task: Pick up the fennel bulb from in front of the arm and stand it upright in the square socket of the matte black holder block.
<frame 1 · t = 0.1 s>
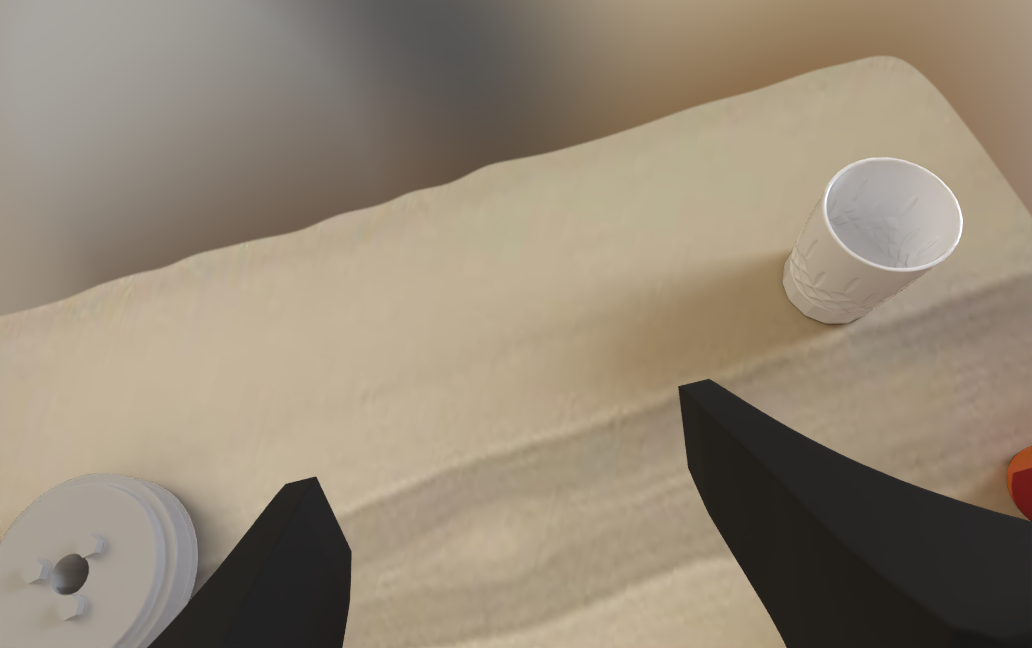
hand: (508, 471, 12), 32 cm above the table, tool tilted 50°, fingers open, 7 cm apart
lid: (117, 574, 44), on the table
white cup: (827, 284, 47), on the table
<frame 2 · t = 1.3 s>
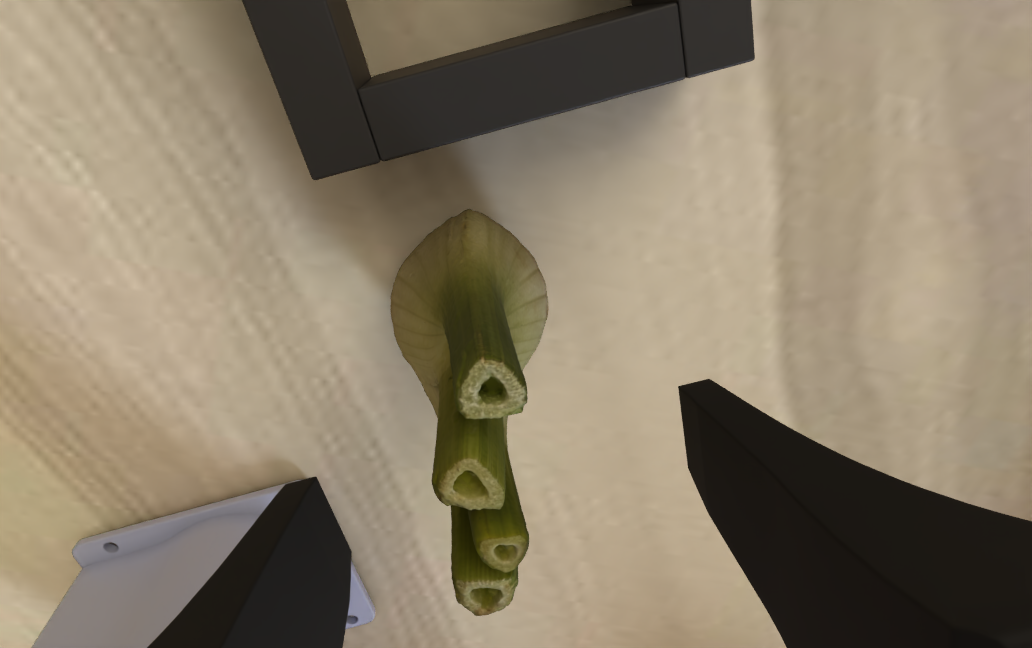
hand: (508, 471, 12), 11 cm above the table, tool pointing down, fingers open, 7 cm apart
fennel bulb: (467, 277, 22), on the table
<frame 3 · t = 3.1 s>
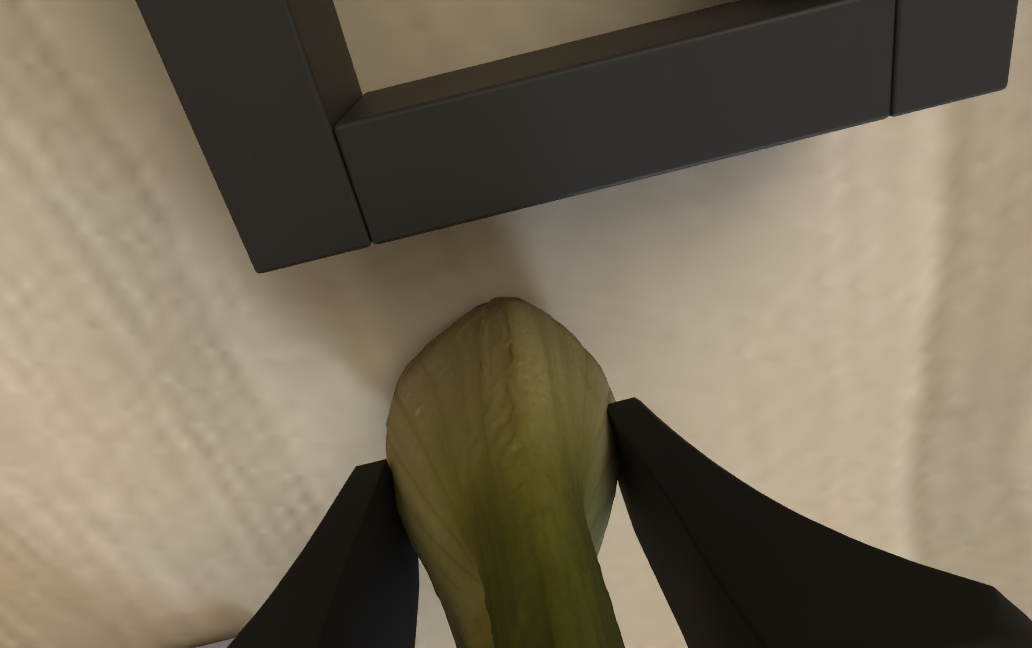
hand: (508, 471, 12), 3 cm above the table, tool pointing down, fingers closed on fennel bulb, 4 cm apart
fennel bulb: (496, 376, 16), on the table, touching gripper
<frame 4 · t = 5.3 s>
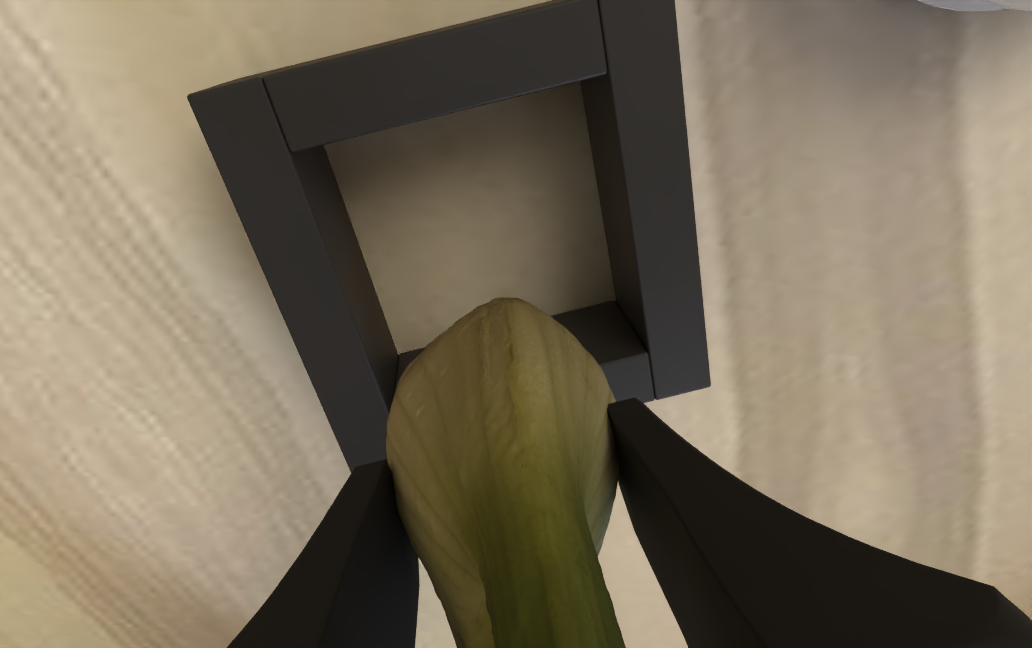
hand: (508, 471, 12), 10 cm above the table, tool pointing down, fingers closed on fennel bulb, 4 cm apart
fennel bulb: (496, 376, 16), point 7 cm above the table, touching gripper
holder: (479, 220, 21), on the table
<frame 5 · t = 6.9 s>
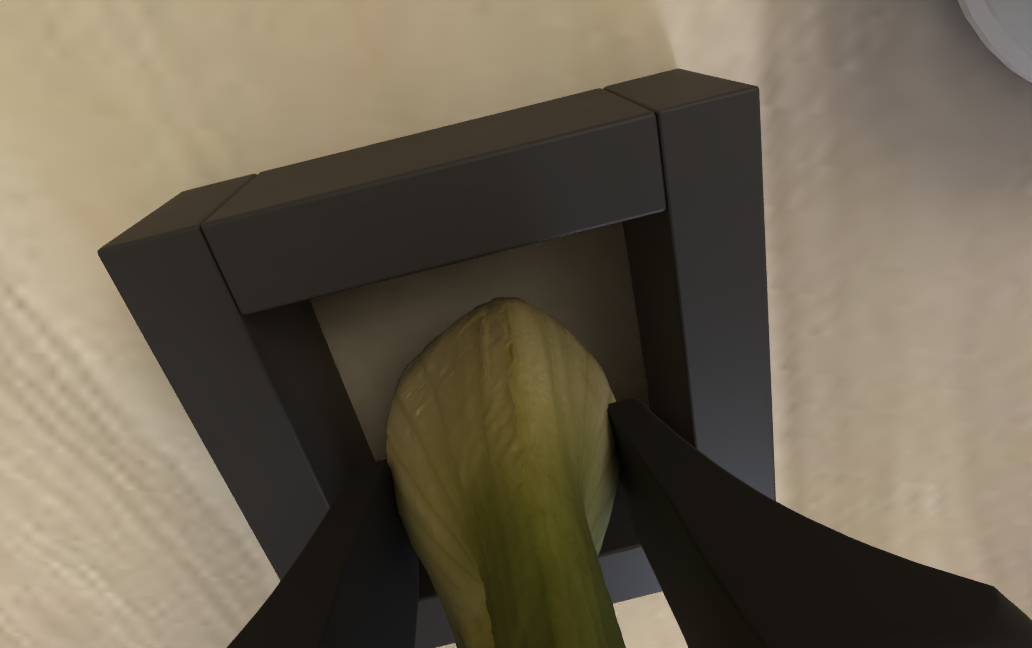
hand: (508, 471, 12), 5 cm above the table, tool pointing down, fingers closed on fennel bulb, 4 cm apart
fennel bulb: (496, 376, 16), point 1 cm above the table, touching gripper
holder: (490, 348, 17), on the table
when the fingers open (4 cm above the table, at t = 8.5 s): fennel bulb stays where it is, resting in holder.
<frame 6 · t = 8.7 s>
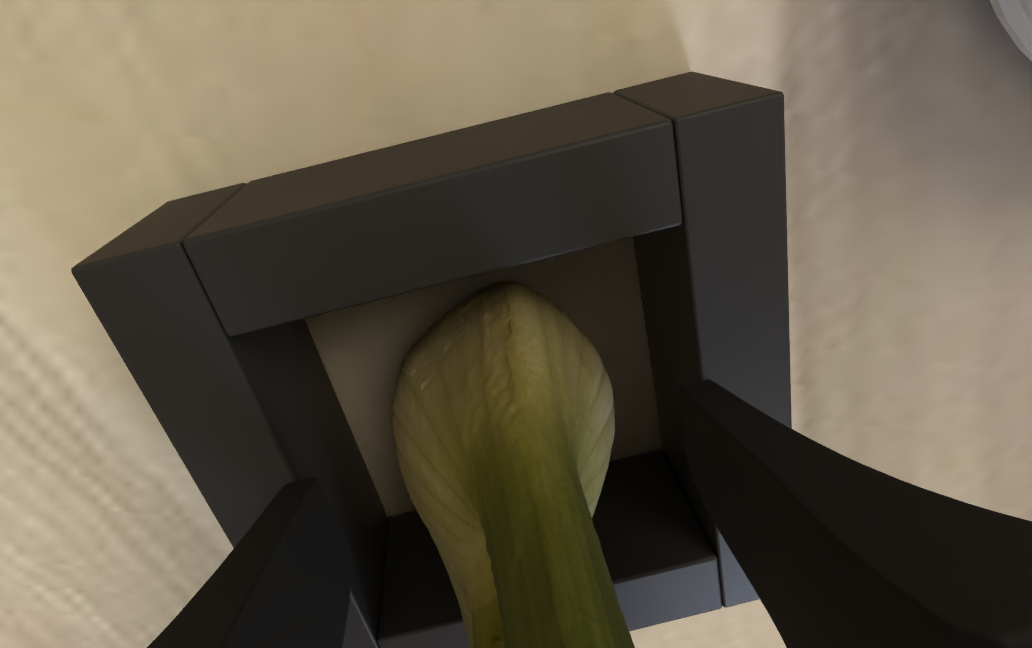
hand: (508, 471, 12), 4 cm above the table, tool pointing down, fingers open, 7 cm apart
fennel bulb: (496, 358, 16), resting in holder
holder: (492, 364, 16), on the table
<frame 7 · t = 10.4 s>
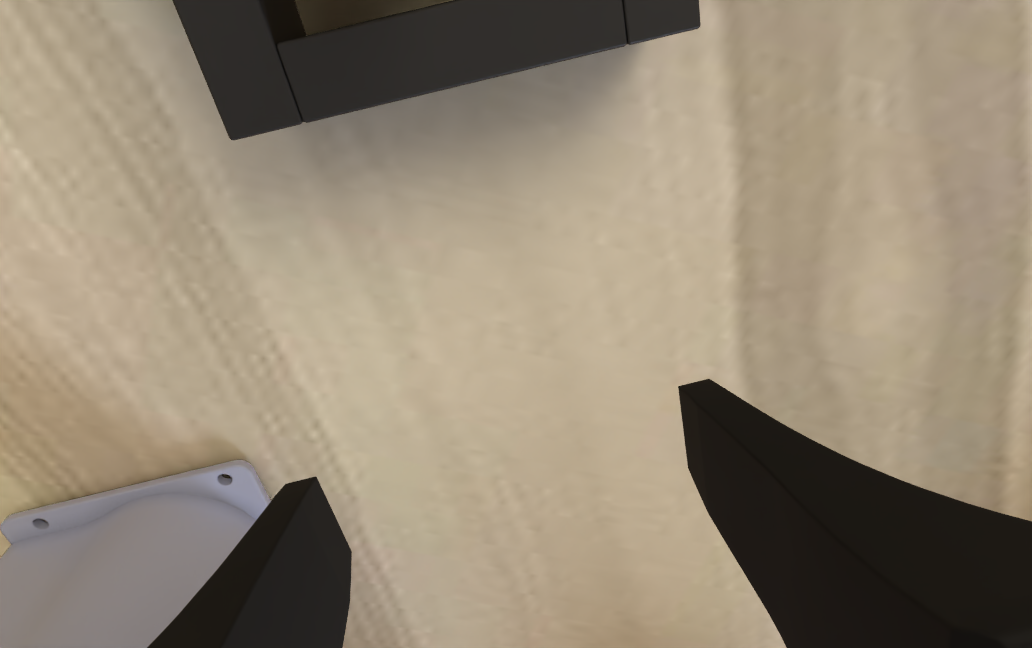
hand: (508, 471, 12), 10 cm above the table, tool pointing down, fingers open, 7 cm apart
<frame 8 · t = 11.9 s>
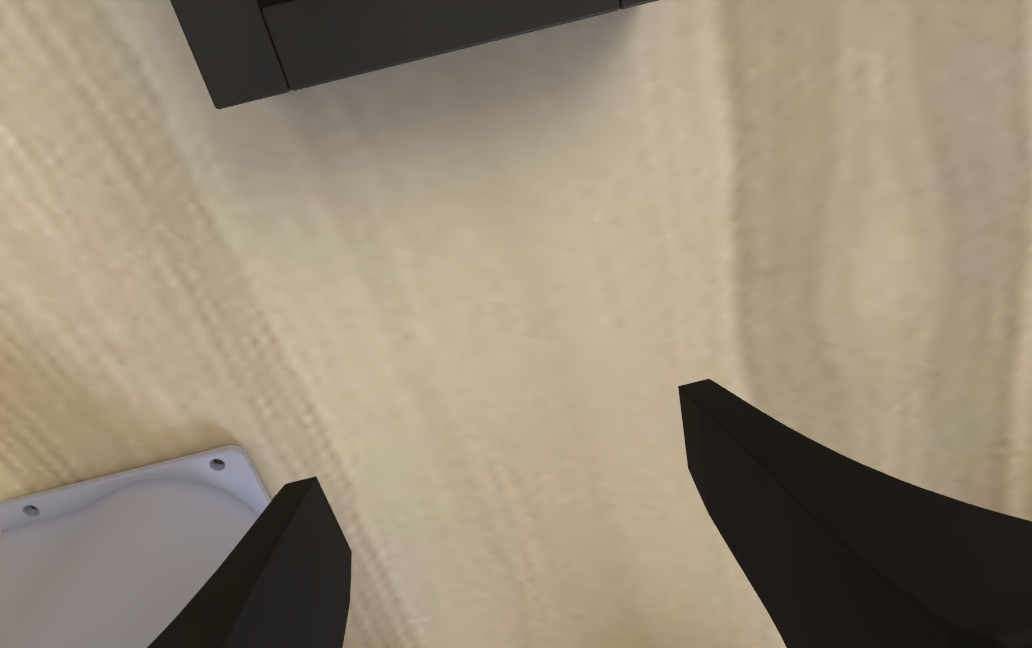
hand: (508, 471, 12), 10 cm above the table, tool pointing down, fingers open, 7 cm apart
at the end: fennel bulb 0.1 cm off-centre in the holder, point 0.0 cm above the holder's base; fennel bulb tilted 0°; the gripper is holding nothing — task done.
